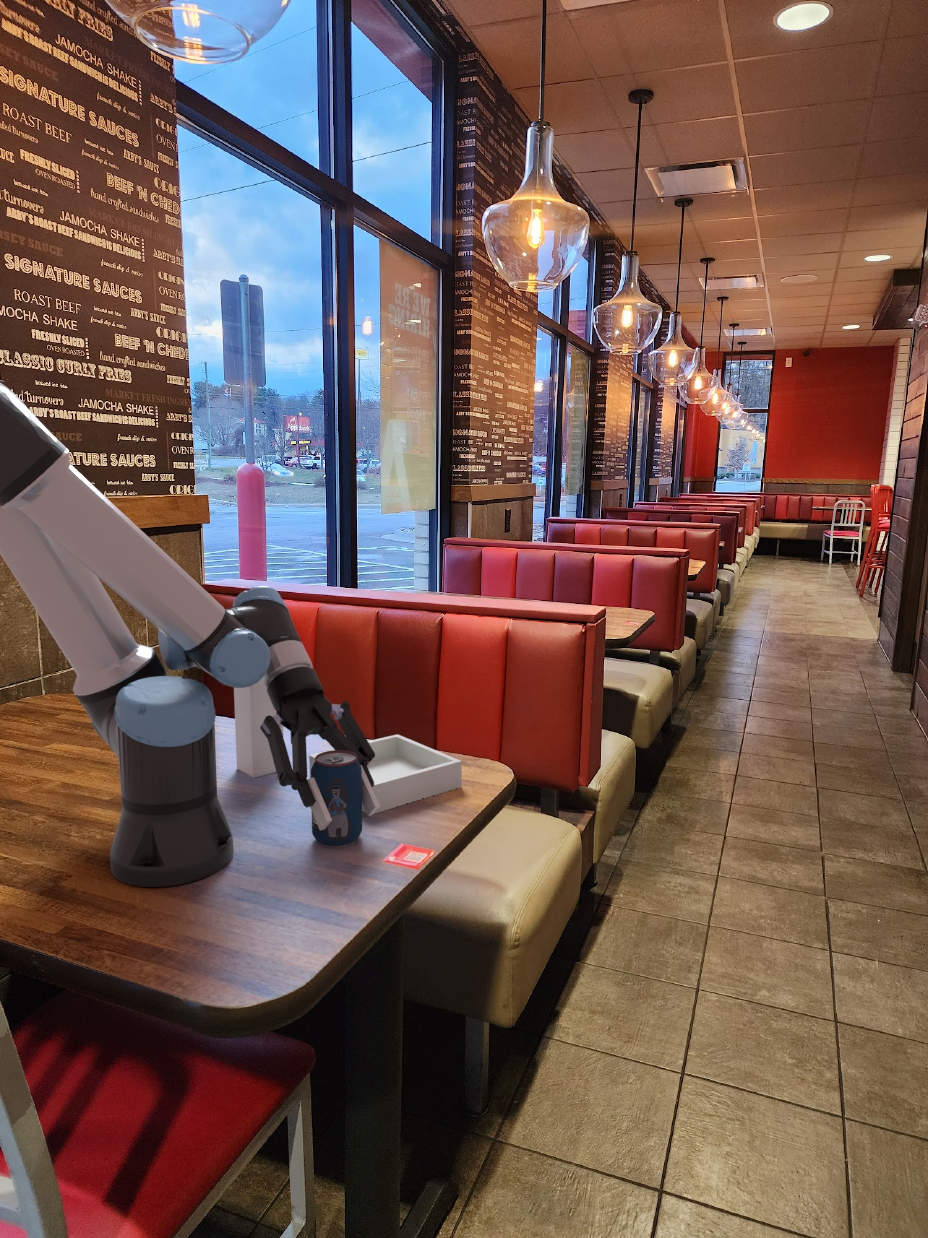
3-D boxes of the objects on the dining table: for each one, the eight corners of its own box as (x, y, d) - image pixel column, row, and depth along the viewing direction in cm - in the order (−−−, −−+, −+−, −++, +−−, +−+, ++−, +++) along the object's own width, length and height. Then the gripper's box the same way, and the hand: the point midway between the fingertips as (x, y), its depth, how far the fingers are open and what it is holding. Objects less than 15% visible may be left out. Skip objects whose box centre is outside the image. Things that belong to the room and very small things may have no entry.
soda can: (344, 824, 116) (343, 745, 114) (372, 840, 111) (371, 757, 109) (302, 838, 111) (300, 755, 109) (329, 855, 106) (328, 769, 104)
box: (369, 815, 119) (369, 786, 118) (309, 780, 132) (309, 755, 132) (461, 787, 130) (461, 761, 130) (397, 758, 144) (397, 734, 143)
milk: (284, 770, 137) (282, 645, 134) (252, 778, 133) (249, 650, 130) (267, 761, 142) (264, 640, 138) (235, 768, 138) (231, 644, 134)
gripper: (339, 682, 126) (398, 812, 116) (218, 703, 113) (275, 850, 104) (356, 655, 121) (420, 788, 111) (233, 674, 108) (293, 825, 99)
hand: (350, 818), depth 107 cm, fingers closed on soda can, 7 cm apart
